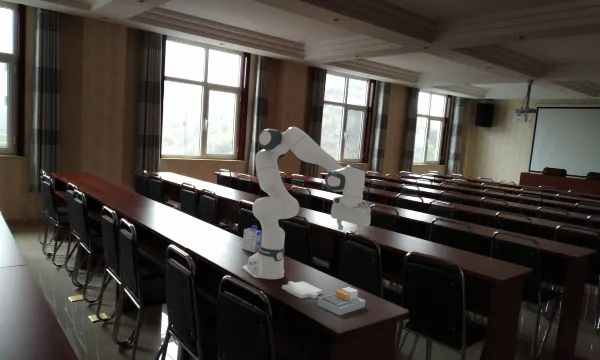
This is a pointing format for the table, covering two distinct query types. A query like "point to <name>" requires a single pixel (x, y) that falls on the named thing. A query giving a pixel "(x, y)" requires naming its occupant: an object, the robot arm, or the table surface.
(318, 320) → the table surface
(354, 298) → the white block
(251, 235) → the ink cartridge box
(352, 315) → the table surface
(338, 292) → the shutter
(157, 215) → the table surface
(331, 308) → the socket
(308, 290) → the mounting plate
